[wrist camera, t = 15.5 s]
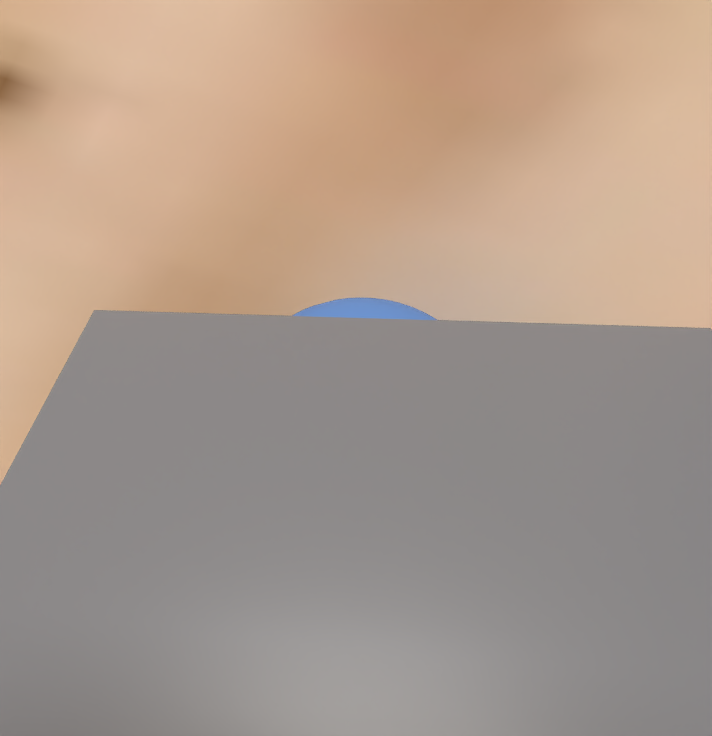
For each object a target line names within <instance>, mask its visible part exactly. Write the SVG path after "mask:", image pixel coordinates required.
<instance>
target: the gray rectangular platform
mask: <svg viewBox="0 0 712 736" xmlns="http://www.w3.org/2000/svg"><path fill="white" fill-rule="evenodd" d="M0 736H712V330H711V328H684V327H650V326H616V325H582V324H548V323H514V322H480V321H446V320H412V319H378V318H344V317H310V316H276V315H242V314H208V313H174V312H140V311H106V310H94V312H93V314H92V315H91V317H90V319H89V321H88V323H87V325H86V327H85V329H84V330H83V332H82V334H81V336H80V338H79V340H78V342H77V343H76V345H75V347H74V349H73V351H72V353H71V355H70V356H69V358H68V360H67V362H66V364H65V366H64V368H63V370H62V371H61V373H60V375H59V377H58V379H57V381H56V383H55V384H54V386H53V388H52V390H51V392H50V394H49V396H48V397H47V399H46V401H45V403H44V405H43V407H42V409H41V411H40V412H39V414H38V416H37V418H36V420H35V422H34V424H33V425H32V427H31V429H30V431H29V433H28V435H27V437H26V438H25V440H24V442H23V444H22V446H21V448H20V450H19V452H18V453H17V455H16V457H15V459H14V461H13V463H12V465H11V466H10V468H9V470H8V472H7V474H6V476H5V478H4V479H3V481H2V483H1V485H0Z"/></svg>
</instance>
